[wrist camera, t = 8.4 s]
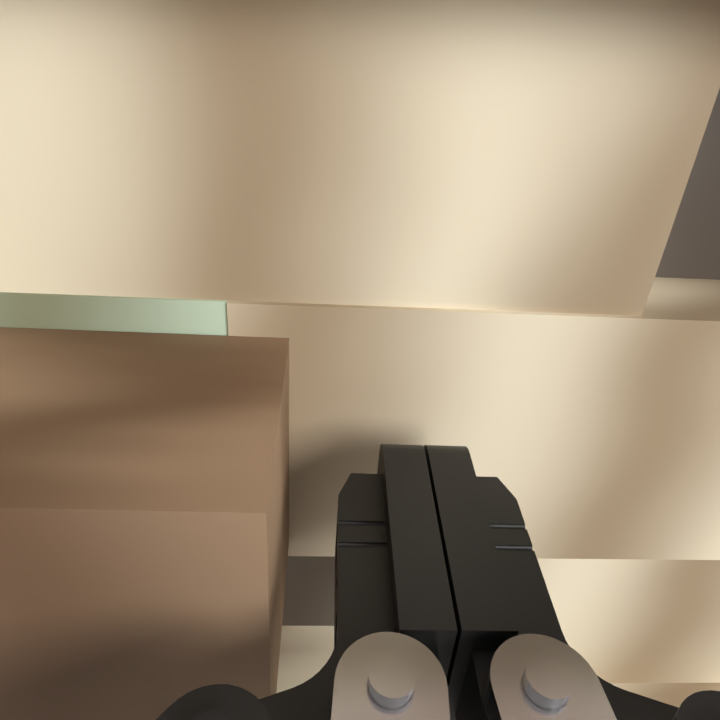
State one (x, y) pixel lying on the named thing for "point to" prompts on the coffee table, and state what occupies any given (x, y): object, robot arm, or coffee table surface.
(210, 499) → the walnut block
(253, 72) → the tray
